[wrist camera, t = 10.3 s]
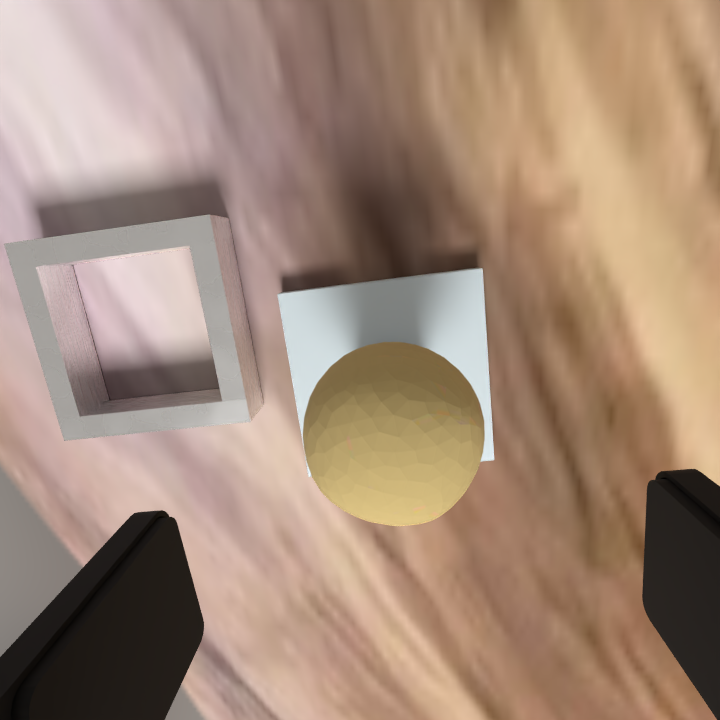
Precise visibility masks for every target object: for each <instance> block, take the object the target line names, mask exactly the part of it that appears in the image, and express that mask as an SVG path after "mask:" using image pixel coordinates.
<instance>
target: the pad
mask: <svg viewBox="0 0 720 720" xmlns="http://www.w3.org/2000/svg"><path fill="white" fill-rule="evenodd" d="M278 300H279V306H280V312H281V318H282V324H283V330H284V335H285V341H286V347H287V353H288V359H289V365H290V371H291V377H292V382H293V388H294V394H295V400H296V406H297V412H298V418H299V424H300V429H301V435H302V441H303V425H304V416H305V412H306V409H307V405H308V402H309V398H310V396H311V394H312V392H313V390H314V388H315V386H316V384H317V382H318V381H319V380H320V379H321V377H322V376H323V375H324V374H325V372H326V371H327V370H328V369H329V368H330V367H331V366H332V365H333V364H334V363H335V362H337V361H338V360H339V359H340V358H342V357H343V356H344V355H346V354H348V353H350V352H352V351H354V350H356V349H358V348H361V347H364V346H366V345H371V344H376V343H382V342H404V343H409V344H415V345H418V346H421V347H424V348H427V349H429V350H431V351H433V352H435V353H437V354H439V355H441V356H443V357H444V358H445V359H447V360H448V361H449V362H450V363H451V364H453V365H454V366H455V367H456V368H457V369H458V370H460V372H461V373H462V374H463V375H464V377H465V378H466V379H467V380H468V381H469V383H470V384H471V386H472V388H473V389H474V391H475V393H476V395H477V397H478V400H479V402H480V405H481V409H482V414H483V418H484V428H485V440H484V448H483V454H482V458H481V461H490V460H494V448H493V431H492V415H491V399H490V383H489V367H488V350H487V334H486V318H485V302H484V285H483V269H482V268H471V269H463V270H455V271H447V272H439V273H432V274H424V275H416V276H408V277H400V278H392V279H384V280H376V281H368V282H360V283H352V284H344V285H336V286H328V287H320V288H312V289H304V290H296V291H288V292H282V293H279V294H278ZM303 447H304V443H303ZM304 453H305V451H304ZM305 459H306V456H305ZM306 465H307V471H308V476H309V477H312V475H311V472H310V470H309V467H308V464H307V461H306Z"/></svg>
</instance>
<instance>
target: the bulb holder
mask: <svg viewBox="0 0 720 720" xmlns="http://www.w3.org/2000/svg"><path fill="white" fill-rule="evenodd" d="M4 245H5V249H6V252H7V255H8V258H9V262H10V265H11V268H12V271H13V275H14V278H15V281H16V285H17V288H18V291H19V294H20V298H21V301H22V304H23V307H24V311H25V314H26V317H27V321H28V324H29V327H30V330H31V334H32V337H33V340H34V343H35V347H36V350H37V353H38V356H39V360H40V363H41V366H42V370H43V373H44V376H45V379H46V383H47V386H48V389H49V392H50V396H51V399H52V402H53V405H54V409H55V412H56V415H57V419H58V422H59V425H60V428H61V432H62V435H63V438H64V441H66V440H76V439H86V438H96V437H105V436H115V435H125V434H135V433H145V432H155V431H165V430H175V429H184V428H194V427H204V426H214V425H224V424H234V423H244V422H251V421H252V419H253V418H254V417H255V415H256V414H257V413H258V412H259V410H260V409H261V408H262V406H263V405H264V403H263V398H262V392H261V387H260V382H259V376H258V371H257V366H256V360H255V355H254V350H253V344H252V339H251V334H250V329H249V323H248V318H247V313H246V307H245V302H244V297H243V291H242V286H241V281H240V275H239V270H238V265H237V260H236V254H235V249H234V244H233V238H232V233H231V228H230V222H229V218H225V217H220V216H215V215H210V214H209V215H202V216H195V217H188V218H181V219H174V220H167V221H160V222H153V223H146V224H139V225H132V226H125V227H118V228H111V229H104V230H97V231H90V232H83V233H76V234H69V235H62V236H55V237H48V238H41V239H34V240H27V241H20V242H13V243H6V244H4ZM185 249H190V250H191V255H192V260H193V265H194V269H195V274H196V279H197V284H198V288H199V293H200V298H201V302H202V307H203V312H204V317H205V321H206V326H207V331H208V336H209V340H210V345H211V350H212V355H213V359H214V364H215V369H216V374H217V378H218V383H219V389H209V390H200V391H191V392H182V393H173V394H163V395H154V396H145V397H136V398H126V399H117V400H109V397H108V393H107V390H106V386H105V382H104V379H103V375H102V371H101V368H100V364H99V360H98V357H97V353H96V350H95V346H94V342H93V339H92V335H91V331H90V328H89V324H88V320H87V317H86V313H85V309H84V306H83V302H82V298H81V295H80V291H79V287H78V284H77V280H76V277H75V273H74V269H73V266H72V265H75V264H83V263H90V262H97V261H104V260H112V259H119V258H126V257H134V256H141V255H148V254H156V253H163V252H170V251H178V250H185Z"/></svg>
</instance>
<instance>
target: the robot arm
mask: <svg viewBox="0 0 720 720" xmlns="http://www.w3.org/2000/svg"><path fill="white" fill-rule="evenodd" d="M642 597H643V604H644V608H645V611H646V613H647V616H648V618H649V619H650V621H651V623H652V624H653V626H654V627H655V628H656V630H657V631H658V633H659V634H660V636H661V637H662V639H663V640H664V642H665V643H666V645H667V646H668V648H669V649H670V651H671V652H672V654H673V655H674V657H675V658H676V659H677V661H678V662H679V664H680V665H681V667H682V668H683V670H684V671H685V673H686V674H687V676H688V677H689V679H690V680H691V682H692V683H693V685H694V686H695V688H696V689H697V690H698V692H699V693H700V695H701V696H702V698H703V699H704V701H705V702H706V704H707V705H708V707H709V708H710V710H711V711H712V713H713V714H714V716H715V717H716V718H717V720H720V486H718V485H717V484H716V483H714V482H713V481H712V480H710V479H709V478H708V477H706V476H705V475H704V474H702V473H701V472H700V471H698V470H696V469H686V470H673V471H661V472H659V473H658V474H657V476H656V479H655V480H651V481H649V483H648V486H647V504H646V526H645V549H644V572H643V594H642ZM203 631H204V622H203V617H202V613H201V610H200V606H199V602H198V599H197V595H196V591H195V588H194V584H193V580H192V577H191V573H190V569H189V566H188V562H187V558H186V554H185V551H184V547H183V543H182V540H181V536H180V532H179V529H178V525H177V522H176V520H175V519H174V518H173V517H169V515H168V514H167V513H166V512H165V511H149V512H138V513H134V514H133V515H132V516H130V518H129V519H128V520H127V521H126V522H125V523H124V524H123V525H122V526H121V527H120V528H119V529H118V531H117V532H116V533H115V534H114V535H113V536H112V537H111V538H110V539H109V540H108V541H107V542H106V543H105V545H104V546H103V547H102V548H101V549H100V550H99V551H98V552H97V553H96V554H95V555H94V556H93V558H92V559H91V560H90V561H89V562H88V563H87V564H86V565H85V566H84V567H83V568H82V569H81V571H80V572H79V573H78V574H77V575H76V576H75V577H74V578H73V579H72V580H71V581H70V583H68V585H67V586H66V587H65V588H64V589H63V590H62V591H61V592H60V593H59V594H58V595H57V597H56V598H55V599H54V600H53V601H52V602H51V603H50V604H49V605H48V606H47V607H46V609H45V610H44V611H43V612H42V613H41V614H40V615H39V616H38V617H37V618H36V619H35V620H34V621H33V622H32V623H31V625H30V626H29V627H28V628H27V629H26V630H25V631H24V632H23V633H22V634H21V636H19V638H18V639H17V640H16V641H15V642H14V643H13V644H12V645H11V646H10V647H9V648H8V649H7V650H6V652H5V653H4V654H3V655H2V656H1V657H0V720H165V718H166V715H167V713H168V711H169V709H170V707H171V705H172V702H173V700H174V698H175V696H176V694H177V692H178V690H179V688H180V685H181V683H182V681H183V679H184V677H185V675H186V673H187V670H188V668H189V666H190V664H191V662H192V660H193V657H194V655H195V653H196V651H197V649H198V647H199V645H200V642H201V640H202V636H203Z"/></svg>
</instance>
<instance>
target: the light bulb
mask: <svg viewBox="0 0 720 720" xmlns="http://www.w3.org/2000/svg"><path fill="white" fill-rule="evenodd" d="M484 440H485V428H484V418H483V414H482V409H481V405H480V402H479V400H478V397H477V395H476V393H475V391H474V389H473V388H472V386H471V384H470V383H469V381H468V380H467V379H466V378H465V377H464V375H463V374H462V373H461V372H460V370H458V369H457V368H456V367H455V366H454V365H453V364H451V363H450V362H449V361H448V360H447V359H445V358H444V357H443V356H441V355H439V354H437V353H435V352H433V351H431V350H429V349H427V348H424V347H421V346H418V345H415V344H409V343H404V342H382V343H376V344H371V345H366V346H364V347H361V348H358V349H356V350H354V351H352V352H350V353H348V354H346V355H344V356H343V357H342V358H340V359H339V360H338V361H337V362H335V363H334V364H333V365H332V366H331V367H330V368H329V369H328V370H327V371H326V372H325V374H324V375H323V376H322V377H321V379H320V380H319V381H318V382H317V384H316V386H315V388H314V390H313V392H312V394H311V396H310V398H309V402H308V405H307V409H306V412H305V416H304V425H303V443H304V451H305V456H306V461H307V464H308V467H309V470H310V472H311V475H312V478H313V479H314V481H315V482H316V484H317V486H318V487H319V489H320V490H321V492H322V493H323V494H324V495H325V496H326V497H327V498H328V499H329V500H330V501H331V502H332V503H334V504H335V505H336V506H338V507H339V508H341V509H342V510H343V511H345V512H347V513H349V514H351V515H353V516H355V517H358V518H360V519H363V520H366V521H369V522H373V523H379V524H385V525H391V526H406V525H416V524H422V523H426V522H429V521H432V520H434V519H436V518H438V517H440V516H441V515H442V514H444V513H445V512H446V511H448V510H449V509H450V508H452V507H453V505H454V504H455V503H456V502H457V501H458V500H459V499H460V498H461V497H462V495H463V494H464V493H465V491H466V490H467V489H468V487H469V485H470V484H471V482H472V480H473V478H474V476H475V474H476V472H477V470H478V468H479V464H480V461H481V458H482V454H483V448H484Z"/></svg>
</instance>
